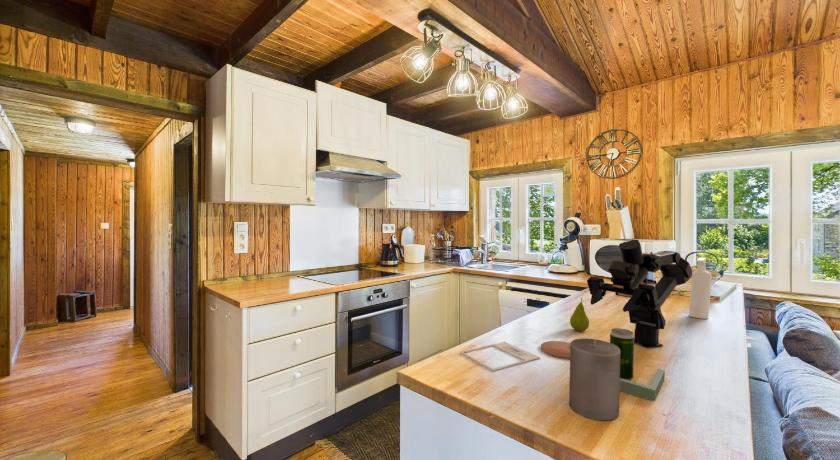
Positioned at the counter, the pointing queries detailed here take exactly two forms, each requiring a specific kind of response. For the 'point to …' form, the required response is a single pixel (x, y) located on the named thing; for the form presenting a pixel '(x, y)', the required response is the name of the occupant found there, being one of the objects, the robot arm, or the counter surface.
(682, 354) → the counter surface
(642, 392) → the green u-shaped bracket
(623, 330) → the beer can
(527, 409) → the counter surface
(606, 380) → the pillar candle
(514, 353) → the photo frame
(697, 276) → the beige bottle
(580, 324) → the fruit
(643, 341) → the robot arm
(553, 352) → the saucer
